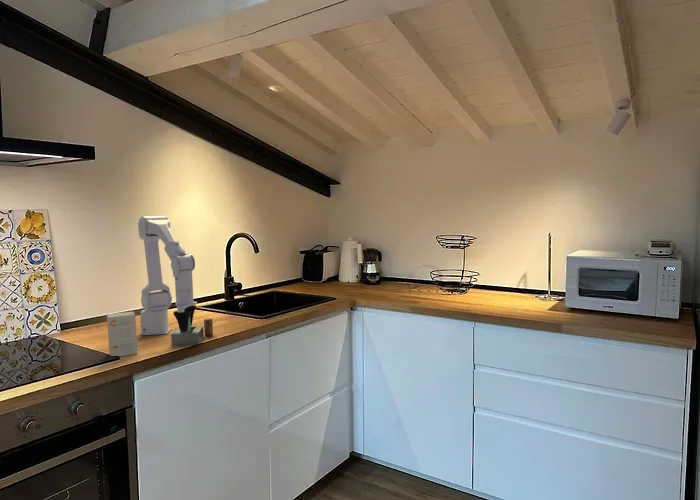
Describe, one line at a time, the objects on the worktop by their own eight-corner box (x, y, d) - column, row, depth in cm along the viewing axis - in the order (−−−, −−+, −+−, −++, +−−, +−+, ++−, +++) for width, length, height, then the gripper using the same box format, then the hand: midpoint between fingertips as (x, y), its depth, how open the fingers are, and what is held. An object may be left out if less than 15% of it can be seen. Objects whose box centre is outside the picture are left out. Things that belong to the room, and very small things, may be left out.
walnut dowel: (203, 336, 182) (203, 320, 182) (205, 334, 185) (204, 318, 185) (212, 336, 182) (211, 320, 182) (213, 334, 185) (212, 318, 185)
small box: (135, 349, 167) (133, 311, 166) (137, 354, 161) (135, 314, 160) (109, 353, 163) (106, 313, 162) (110, 358, 157) (107, 317, 156)
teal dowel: (181, 341, 172) (180, 318, 171) (183, 339, 175) (181, 316, 174) (190, 340, 172) (189, 318, 172) (191, 338, 175) (190, 316, 175)
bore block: (171, 345, 171) (171, 334, 170) (178, 338, 180) (177, 327, 180) (198, 344, 172) (198, 332, 171) (203, 337, 182) (203, 326, 181)
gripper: (192, 292, 166) (194, 333, 167) (199, 286, 180) (201, 323, 181) (170, 293, 165) (172, 334, 166) (179, 287, 179) (181, 324, 180)
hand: (186, 328), depth 173 cm, fingers open, 7 cm apart
